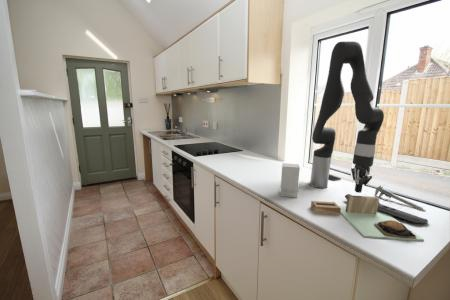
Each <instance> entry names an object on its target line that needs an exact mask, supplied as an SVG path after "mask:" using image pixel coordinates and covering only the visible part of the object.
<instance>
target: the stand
mask: <svg viewBox="0 0 450 300" xmlns="http://www.w3.org/2000/svg"><path fill="white" fill-rule="evenodd" d="M339 206H340V205H338V204H337V203H336V202H335V201H322V200H321V201H319V200H317V201H316V200H311V203H310V208H311V209H312V211H313V212H314V214H317V215H319V214H320V215H333V216H340V215H341V213H340V210H341V208H340V207H339Z"/></svg>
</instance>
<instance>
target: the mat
mask: <svg viewBox="0 0 450 300" xmlns="http://www.w3.org/2000/svg"><path fill="white" fill-rule="evenodd" d="M338 206H339V207H340V208H341V210H340V215H342V217H343V218H344V219H345V220H346V221H347V222H348V223H349V224H350V225H351V226H352V227H353V228H354V229H355V230H356V231H357V232H358V234H360V235H361V236H362V237H363V238H369V239H370V238H371V239H385V240H387V239H388V240H400V241H401V240H402V241H417V242H424V240H425V239H424V238H423V237H421V236H420V235H418V234H417V233H416V232H414V231H413V230H412V229H410V228H409V227H407V226H406V225H404V226H405V227H406V228H407V229H408V230H409V231H411V233H413V234H414V235H416V239H412V238H400V237H394V236H388V235H384V234H383V233H382V232H381V231H380V230H379V229H378V228H377V227H376V226H375V225H374V224H375V223H377V224H378V222H383V221H388V220H393V221H397V222H399V223H401V222H400V221H399V220H397V219H396V218H395V217H394V216H392V215H390V214H387V213H384V212H381V211H378V209H377V214H367V213H350V212H346V211H345V210H346V205H338Z"/></svg>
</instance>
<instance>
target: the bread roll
mask: <svg viewBox="0 0 450 300" xmlns="http://www.w3.org/2000/svg"><path fill="white" fill-rule="evenodd" d="M397 221H398V220H397ZM397 221H393V220H388V221H383V222H378V224H377V223H375V224H374V225H375V226H376V227H377V228H378V229H379V230H380V231H381V232H382V233H383V234H384V235H388V236H394V237H400V238H412V239H416V235H414V234H413V233H411V231H412V230H411V231H409V230H408V229H407V228H408V227H407V226H406V225H404V224H403V223H402V222H400V221H399V222H400V223H399V222H397ZM405 226H406V227H407V228H406V227H405Z"/></svg>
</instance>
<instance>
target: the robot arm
mask: <svg viewBox="0 0 450 300" xmlns="http://www.w3.org/2000/svg"><path fill="white" fill-rule="evenodd" d="M344 64H347V65H348V64H349V65H350V68H351V70H352V76H351V80H350V92H351V95H352V97H353V100H354V111H355V118H356V120H357V121H358V122H359V123H360V124H363V125H364V126H363V128H362V129H360V130H359V131H358V132H357V137H356V142H355V146H354V150H353V158H352V164H353V165H354V167H353V168H350V169H351V170H350V171H351V176H352V180H353V181H354V182H355V183H354V184H355V186H354V192H356V193H362V191H363V186H364V185H365V186H366V185H367V184H368V183H369V182H370V181H371V180H372V179H373V176H372V175H370V168H371V167H373V165H374V159H375V154H376V143H377V137H378V136H377V135H378V134H379V131H380V129H381V127H382V124H383V122H384V118H385V114H384V111H383V109H381V108H380V107H375V106H374V107H373V106H372V105H371V103H372V101H373V100H374V98H375V97H374V93H373V91H372V88H371V86H370V83H369V80H368V76H367V70H366V65H365V59H364V53H363V48H362V46H361V44H360V43H359V42H358V41H338V42H337V43H336V44H335V45H334V47H333V49H332V51H331V56H330V62H329V67H328V73H327V80H326V83H325V88H324V92H323V94H322V99H321V103H320V104H321V105H320V110H319V112H318V113H319V114H318V117H317V119H316V123H315V126H314V129H313V131H312V137H311V138H312V143H314V144H316V145H323V146H322V147H320V148H317V149H315V150H314V151H313V156H312V164H311V173H310V181H309V185H311V186H312V187H315V188H320V189H325V188H327V187H328V183H329V179H328V178H329V174H330V171H331V170H330V168H331V162H332V155H333V152H334V148H335V147H334V145H335V141H336V136H337V135H336V130H335V128H333V127H325V125H326V123H327V122H328V120H329V119H330V118H331V117H332V116H333V115H335V113H336V112H338V111H339V109H341V106H342V103H343V99H344V97H345V87H344V84H343V81H342V70H343V67H344Z"/></svg>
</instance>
